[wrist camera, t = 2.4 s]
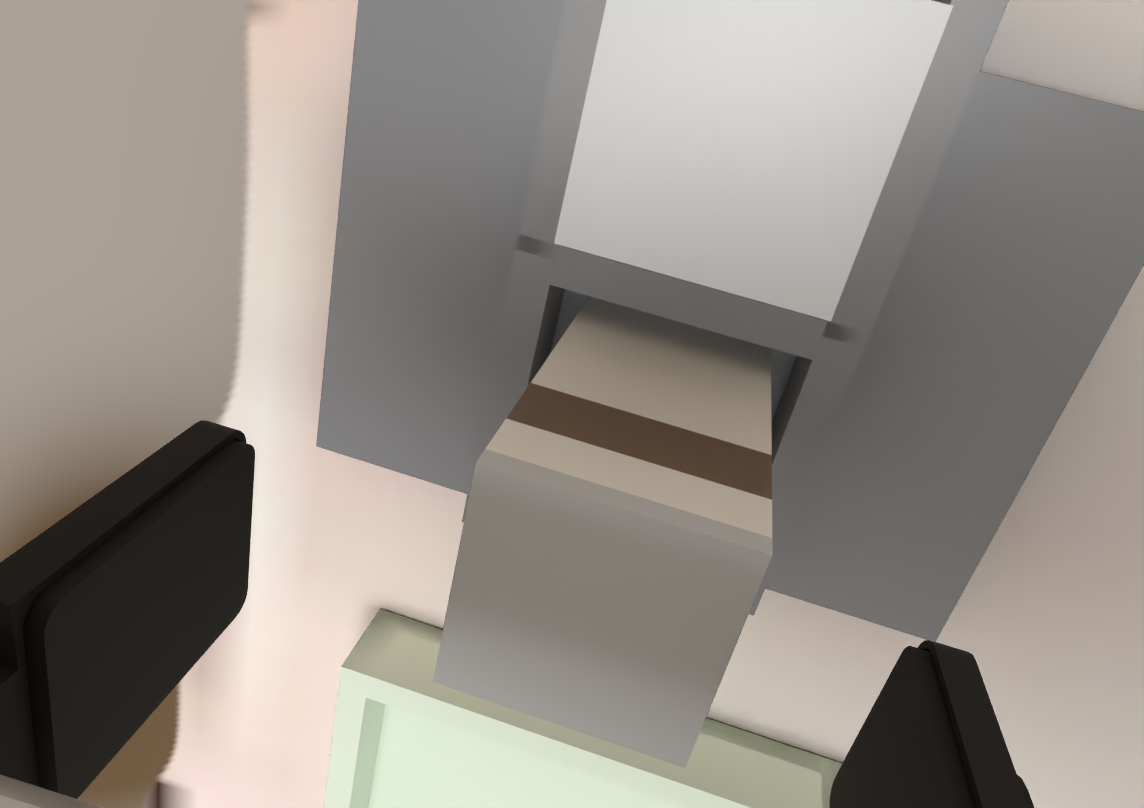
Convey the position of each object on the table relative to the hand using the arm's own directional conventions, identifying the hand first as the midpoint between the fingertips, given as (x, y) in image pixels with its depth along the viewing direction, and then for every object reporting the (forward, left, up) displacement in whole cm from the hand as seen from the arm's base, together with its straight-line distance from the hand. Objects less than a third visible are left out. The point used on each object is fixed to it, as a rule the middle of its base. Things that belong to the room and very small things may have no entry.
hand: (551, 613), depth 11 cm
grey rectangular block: (-1, 0, -8) cm, 8 cm away
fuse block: (-1, -2, -9) cm, 9 cm away
